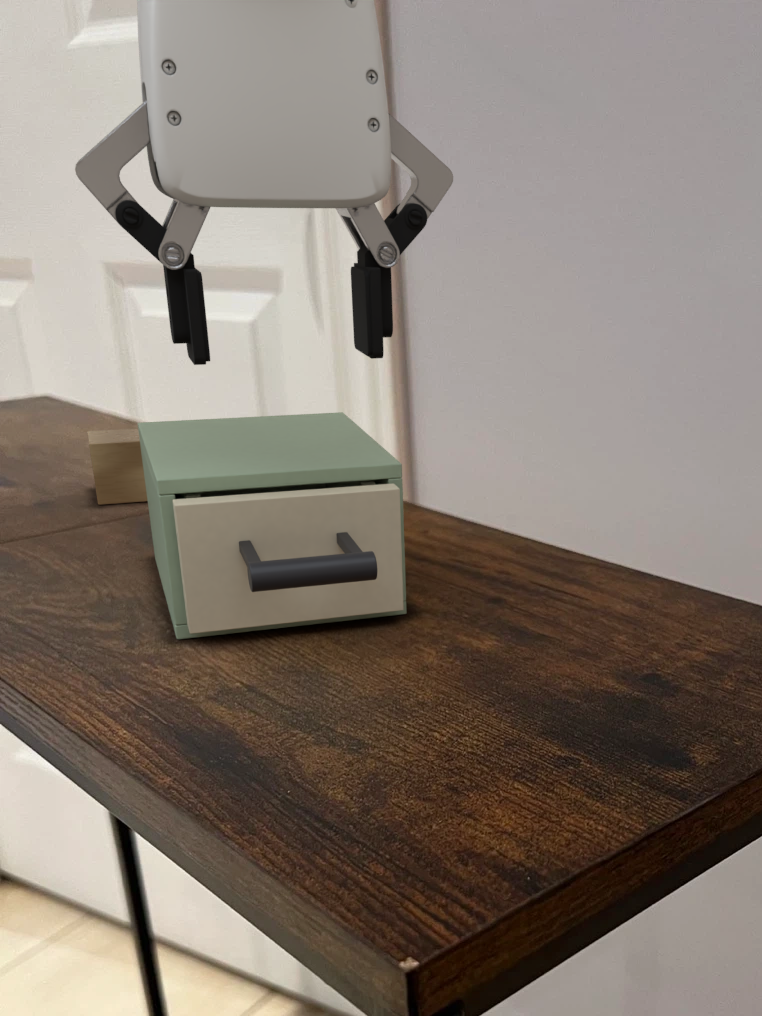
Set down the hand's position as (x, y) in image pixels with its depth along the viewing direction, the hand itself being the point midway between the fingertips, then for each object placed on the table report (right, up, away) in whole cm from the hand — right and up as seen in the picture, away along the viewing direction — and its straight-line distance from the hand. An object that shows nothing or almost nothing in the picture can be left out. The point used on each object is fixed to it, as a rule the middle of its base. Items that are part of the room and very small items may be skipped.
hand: (285, 354), depth 54 cm
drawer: (-2, -10, +11) cm, 15 cm away
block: (-19, 0, +33) cm, 38 cm away
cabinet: (-4, -9, +15) cm, 18 cm away
